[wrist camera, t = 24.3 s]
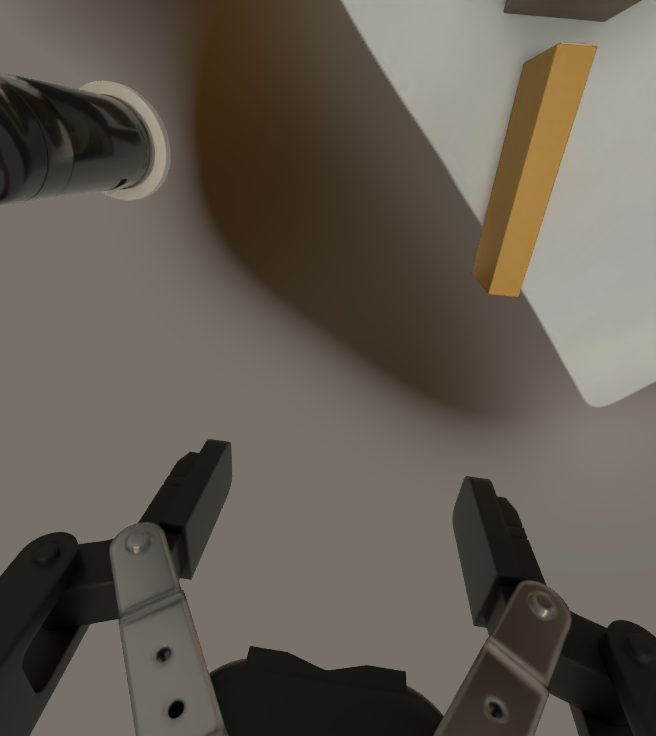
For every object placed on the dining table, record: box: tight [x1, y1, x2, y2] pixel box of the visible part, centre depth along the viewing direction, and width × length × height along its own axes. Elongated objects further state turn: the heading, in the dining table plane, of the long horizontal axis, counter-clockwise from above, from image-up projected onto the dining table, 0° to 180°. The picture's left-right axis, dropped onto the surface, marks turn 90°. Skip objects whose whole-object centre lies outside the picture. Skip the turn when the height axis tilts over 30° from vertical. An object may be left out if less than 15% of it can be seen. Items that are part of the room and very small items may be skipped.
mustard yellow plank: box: [472, 42, 597, 297], centre depth 39 cm, size 20×3×8 cm, turn 176°
